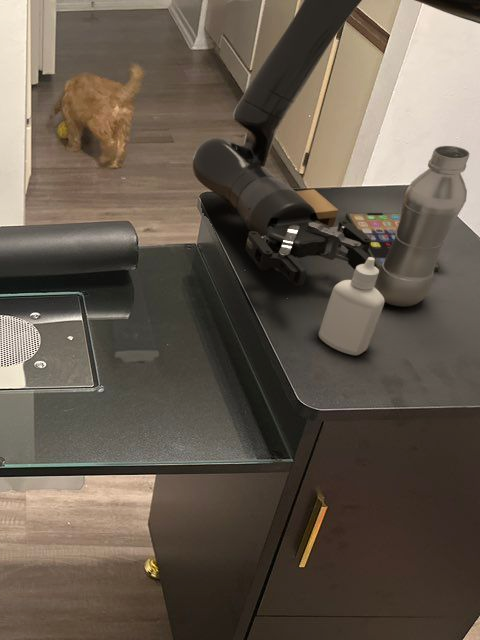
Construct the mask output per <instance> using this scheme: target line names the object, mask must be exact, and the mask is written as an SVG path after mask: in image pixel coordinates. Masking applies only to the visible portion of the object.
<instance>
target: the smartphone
mask: <svg viewBox="0 0 480 640" xmlns="http://www.w3.org/2000/svg"><path fill="white" fill-rule="evenodd" d="M344 217H345V220H346V221H349V222H350V223H351V224H353V225H354V226H355V227H356V228H358V229H359V230H360V231H362V232H363V233H364V234H366V235H367V236H368V237H369V238H371V239H372V242H371V244H370V246H369V249H368V252H367V254H368V255H369V256H370V257H373V258H374V259H375V261H374V266H375V267H376V268H378V270H379V268H380V266H381V265H382V263H383V262H384V261H385V259H386V256H387V254H388V252H389V250H390V248H391V246H392V243H393V241H394V239H395V235H396V233H397V229H398V225H399V222H400V218H401V212H391V213H390V212H389V213H388V212H385V213H383V212H367V213H364V212H363V213H358V212H357V213H354V212H353V213H346V214H345V216H344ZM439 269H440V266H439V264H438V263H437V262H436V265H435V268H434V272H439Z"/></svg>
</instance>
